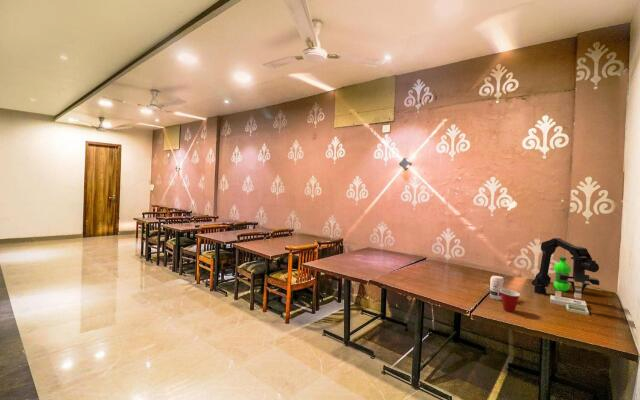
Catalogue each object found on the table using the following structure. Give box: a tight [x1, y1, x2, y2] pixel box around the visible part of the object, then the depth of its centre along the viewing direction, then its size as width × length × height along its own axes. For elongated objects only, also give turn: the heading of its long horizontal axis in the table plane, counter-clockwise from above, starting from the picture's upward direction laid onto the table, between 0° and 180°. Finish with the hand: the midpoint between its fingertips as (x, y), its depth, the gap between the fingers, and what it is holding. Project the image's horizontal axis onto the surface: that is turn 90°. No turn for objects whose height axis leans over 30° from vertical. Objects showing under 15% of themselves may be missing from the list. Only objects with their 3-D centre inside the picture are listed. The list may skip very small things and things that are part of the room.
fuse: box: [554, 290, 562, 300], centre depth 202 cm, size 3×3×7 cm
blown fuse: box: [573, 285, 582, 300], centre depth 188 cm, size 3×3×7 cm
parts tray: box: [565, 304, 590, 316], centre depth 189 cm, size 10×10×2 cm
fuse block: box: [549, 294, 588, 308], centre depth 200 cm, size 18×10×4 cm, turn 54°
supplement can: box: [489, 275, 505, 301], centre depth 210 cm, size 8×8×15 cm
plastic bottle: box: [553, 256, 572, 293], centre depth 230 cm, size 10×10×25 cm
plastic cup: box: [500, 288, 521, 313], centre depth 189 cm, size 11×11×12 cm
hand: (577, 292), depth 188 cm, fingers closed on blown fuse, 3 cm apart
